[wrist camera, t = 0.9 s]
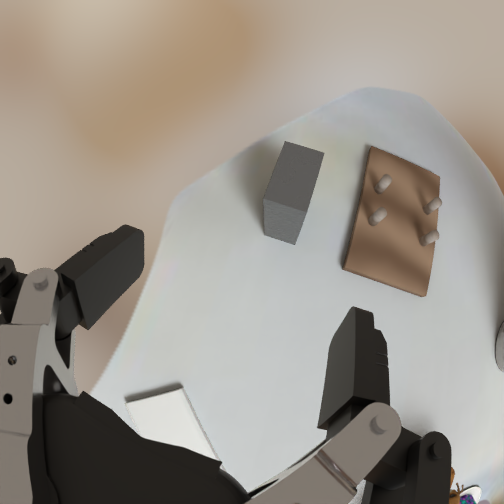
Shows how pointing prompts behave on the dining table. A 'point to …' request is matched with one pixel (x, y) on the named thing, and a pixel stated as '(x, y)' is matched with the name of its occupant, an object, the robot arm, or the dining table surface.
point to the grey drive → (290, 191)
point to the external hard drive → (171, 421)
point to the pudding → (470, 496)
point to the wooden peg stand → (395, 224)
